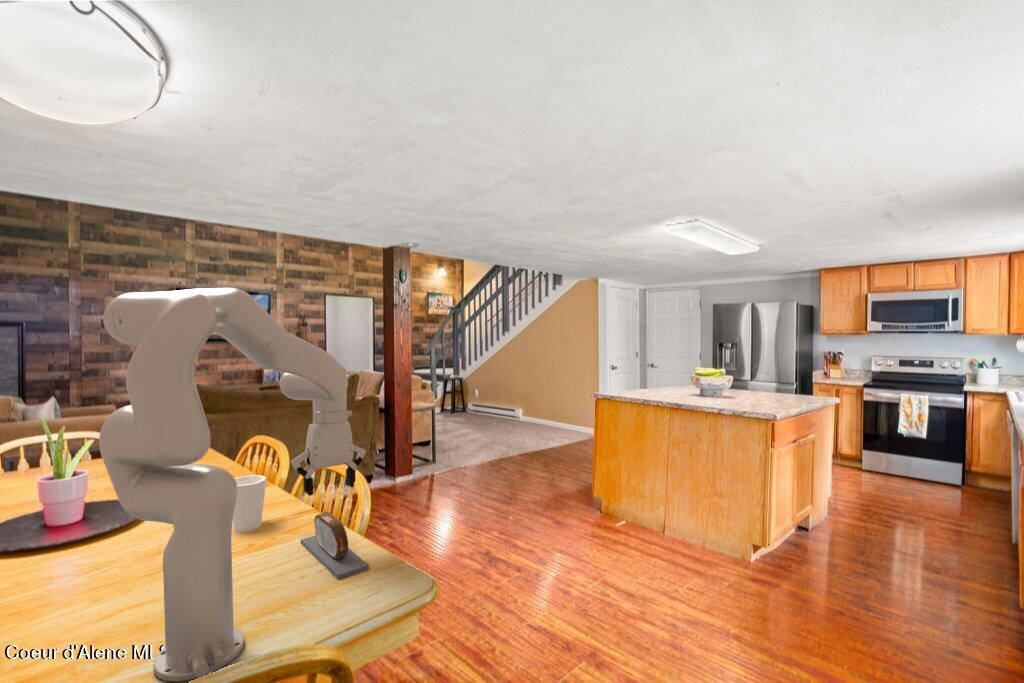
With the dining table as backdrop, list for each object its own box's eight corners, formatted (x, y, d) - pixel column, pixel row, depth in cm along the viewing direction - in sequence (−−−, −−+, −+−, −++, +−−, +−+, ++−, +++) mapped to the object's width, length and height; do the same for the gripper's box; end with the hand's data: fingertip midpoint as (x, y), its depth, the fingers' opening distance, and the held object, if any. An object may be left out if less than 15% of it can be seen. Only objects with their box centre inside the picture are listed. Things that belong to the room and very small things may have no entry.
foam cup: (274, 524, 136) (273, 477, 135) (243, 537, 127) (242, 487, 127) (251, 518, 140) (250, 473, 139) (219, 531, 131) (218, 483, 131)
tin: (349, 561, 112) (349, 524, 111) (336, 565, 109) (335, 528, 109) (325, 539, 123) (324, 506, 123) (312, 543, 121) (312, 509, 121)
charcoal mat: (368, 569, 110) (368, 564, 110) (337, 579, 105) (337, 575, 105) (328, 535, 128) (328, 531, 128) (300, 543, 123) (300, 539, 123)
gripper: (358, 412, 124) (358, 479, 124) (286, 419, 113) (286, 493, 113) (371, 415, 119) (371, 486, 119) (296, 423, 107) (297, 502, 107)
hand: (330, 489), depth 116 cm, fingers open, 9 cm apart
